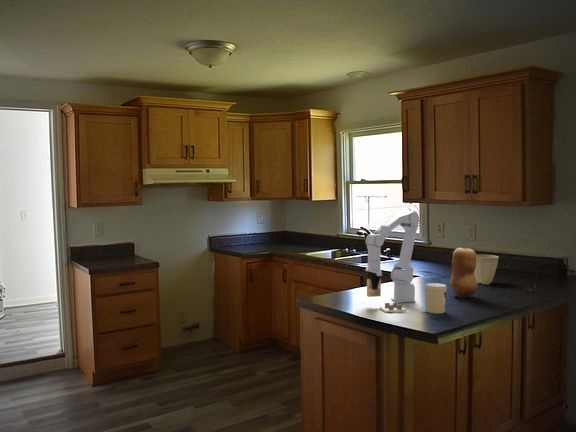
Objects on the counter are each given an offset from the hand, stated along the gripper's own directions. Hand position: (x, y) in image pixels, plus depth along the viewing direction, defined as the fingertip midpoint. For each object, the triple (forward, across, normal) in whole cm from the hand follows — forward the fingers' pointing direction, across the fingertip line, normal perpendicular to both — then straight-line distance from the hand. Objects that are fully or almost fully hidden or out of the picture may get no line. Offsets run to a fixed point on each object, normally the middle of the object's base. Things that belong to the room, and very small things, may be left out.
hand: (373, 288), depth 244 cm
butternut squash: (+9, -11, +52) cm, 54 cm away
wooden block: (+3, 0, 0) cm, 3 cm away
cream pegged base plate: (+8, +9, +6) cm, 14 cm away
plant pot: (+9, -44, +85) cm, 96 cm away
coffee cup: (+9, +14, +24) cm, 29 cm away
